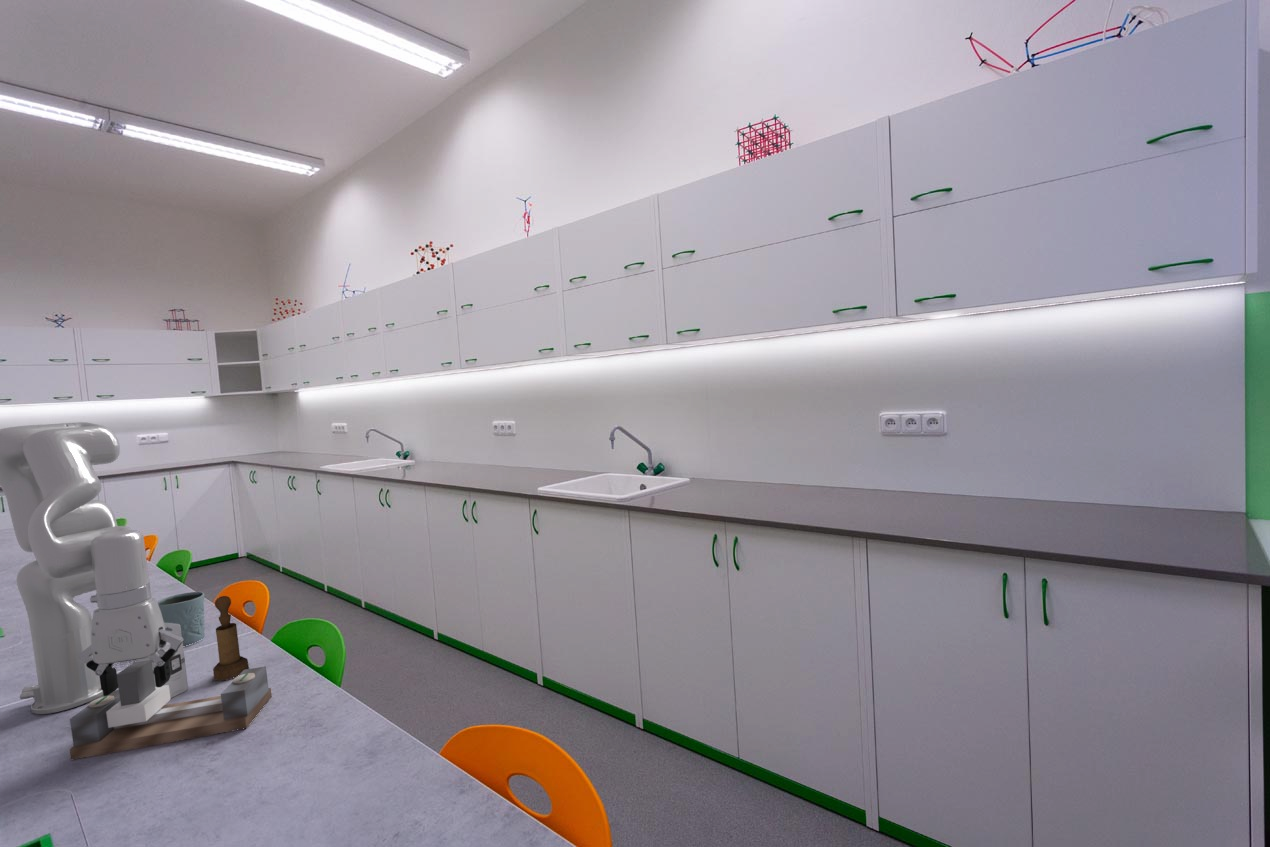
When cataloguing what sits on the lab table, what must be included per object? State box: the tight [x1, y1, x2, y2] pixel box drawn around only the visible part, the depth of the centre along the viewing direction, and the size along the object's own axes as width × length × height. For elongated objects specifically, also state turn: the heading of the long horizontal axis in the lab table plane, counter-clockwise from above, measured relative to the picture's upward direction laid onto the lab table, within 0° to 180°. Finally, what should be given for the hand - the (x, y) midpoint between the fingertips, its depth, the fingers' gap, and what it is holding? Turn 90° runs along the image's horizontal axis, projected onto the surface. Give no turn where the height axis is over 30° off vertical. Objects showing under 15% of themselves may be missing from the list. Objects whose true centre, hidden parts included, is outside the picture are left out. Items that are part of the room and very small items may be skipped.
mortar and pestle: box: [212, 595, 250, 682], centre depth 134 cm, size 7×6×18 cm
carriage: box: [106, 660, 172, 728], centre depth 111 cm, size 6×8×9 cm
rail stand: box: [69, 666, 273, 760], centre depth 113 cm, size 28×12×8 cm, turn 102°
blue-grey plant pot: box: [157, 591, 205, 646], centre depth 156 cm, size 10×10×12 cm
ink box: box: [134, 623, 189, 699], centre depth 127 cm, size 9×5×15 cm, turn 71°
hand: (137, 687), depth 111 cm, fingers open, 8 cm apart
